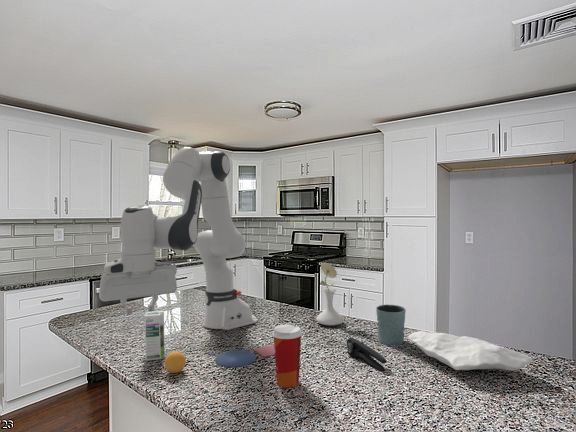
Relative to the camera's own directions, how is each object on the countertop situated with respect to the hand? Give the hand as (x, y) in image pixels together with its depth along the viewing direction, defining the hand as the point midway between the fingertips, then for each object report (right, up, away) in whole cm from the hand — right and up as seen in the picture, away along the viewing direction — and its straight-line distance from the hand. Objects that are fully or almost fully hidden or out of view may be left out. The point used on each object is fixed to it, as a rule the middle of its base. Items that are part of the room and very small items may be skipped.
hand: (139, 312), depth 105 cm
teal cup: (+78, -18, +28) cm, 85 cm away
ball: (+8, -16, +5) cm, 19 cm away
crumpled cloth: (+94, -18, +7) cm, 96 cm away
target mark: (+25, -19, +15) cm, 34 cm away
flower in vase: (+59, -18, +50) cm, 79 cm away
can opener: (+66, -19, +12) cm, 70 cm away
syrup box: (-2, -19, +17) cm, 25 cm away
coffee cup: (+42, -19, -2) cm, 46 cm away
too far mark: (+35, -18, +20) cm, 45 cm away
